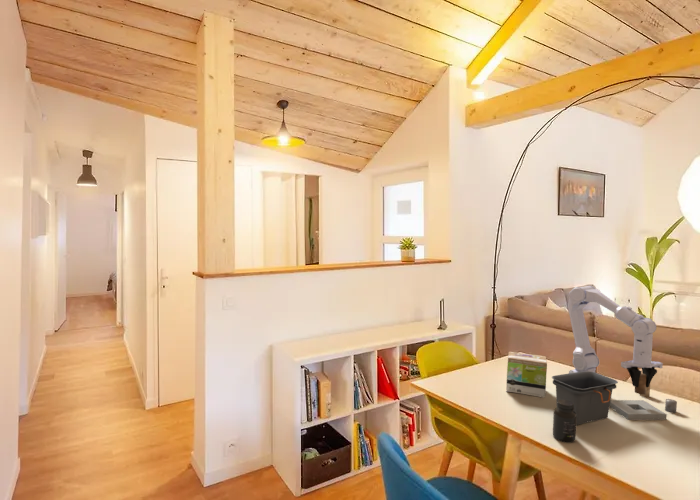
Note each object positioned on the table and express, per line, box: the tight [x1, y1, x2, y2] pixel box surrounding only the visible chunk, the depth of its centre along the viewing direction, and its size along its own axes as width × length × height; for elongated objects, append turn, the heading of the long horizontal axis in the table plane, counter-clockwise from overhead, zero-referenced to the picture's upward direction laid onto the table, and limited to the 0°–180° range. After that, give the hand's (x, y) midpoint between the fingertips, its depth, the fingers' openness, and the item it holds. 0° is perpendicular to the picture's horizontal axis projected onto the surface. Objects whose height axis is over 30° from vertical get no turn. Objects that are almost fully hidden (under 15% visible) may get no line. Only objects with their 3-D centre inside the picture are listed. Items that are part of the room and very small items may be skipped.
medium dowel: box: [639, 384, 651, 398], centre depth 175 cm, size 3×3×6 cm
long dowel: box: [634, 372, 646, 395], centre depth 160 cm, size 3×3×7 cm
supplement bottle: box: [552, 400, 577, 443], centre depth 140 cm, size 7×7×12 cm
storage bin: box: [551, 371, 619, 426], centre depth 154 cm, size 21×16×14 cm
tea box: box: [506, 351, 548, 398], centre depth 179 cm, size 15×10×15 cm, turn 68°
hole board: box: [609, 399, 668, 421], centre depth 160 cm, size 14×12×2 cm
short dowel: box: [664, 398, 678, 414], centre depth 161 cm, size 3×3×4 cm
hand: (640, 386), depth 160 cm, fingers closed on long dowel, 3 cm apart
